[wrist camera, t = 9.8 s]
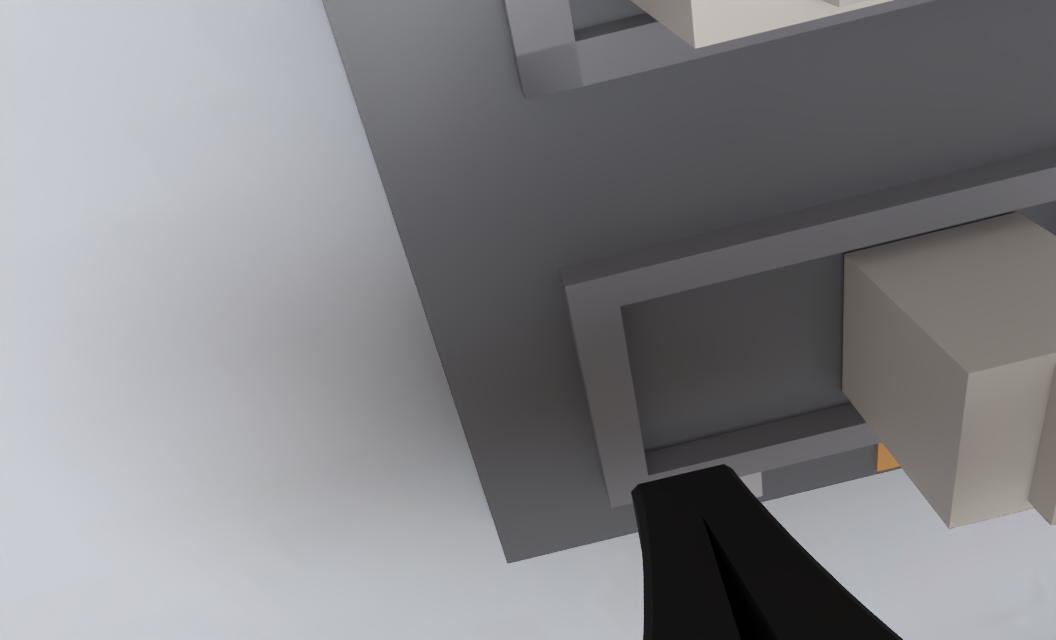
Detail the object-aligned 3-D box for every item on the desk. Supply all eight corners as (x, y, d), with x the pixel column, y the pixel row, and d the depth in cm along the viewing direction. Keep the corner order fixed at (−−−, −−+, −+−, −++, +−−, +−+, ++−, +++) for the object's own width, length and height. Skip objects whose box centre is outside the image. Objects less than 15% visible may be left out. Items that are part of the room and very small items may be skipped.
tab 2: (1017, 212, 13) (1224, 339, 10) (996, 353, 15) (1168, 506, 11) (844, 254, 13) (992, 396, 10) (842, 391, 15) (968, 554, 11)
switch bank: (1416, -770, 9) (1628, -899, 7) (1121, 370, 17) (1189, 422, 16) (186, -465, 9) (137, -528, 7) (502, 520, 17) (510, 586, 16)
